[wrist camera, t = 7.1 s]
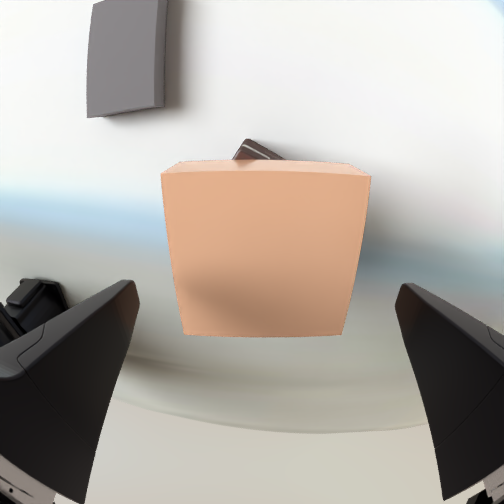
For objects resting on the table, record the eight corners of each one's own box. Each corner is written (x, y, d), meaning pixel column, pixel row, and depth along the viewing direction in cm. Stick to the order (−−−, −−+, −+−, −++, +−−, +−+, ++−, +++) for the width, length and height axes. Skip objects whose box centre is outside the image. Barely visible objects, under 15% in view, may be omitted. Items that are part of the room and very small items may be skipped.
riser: (164, 106, 16) (154, 105, 14) (101, 116, 16) (87, 118, 14) (168, -5, 12) (159, -16, 10) (106, 11, 12) (93, 4, 10)
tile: (330, 301, 14) (341, 335, 12) (194, 301, 14) (184, 334, 12) (348, 163, 11) (371, 176, 9) (179, 161, 11) (160, 173, 9)
